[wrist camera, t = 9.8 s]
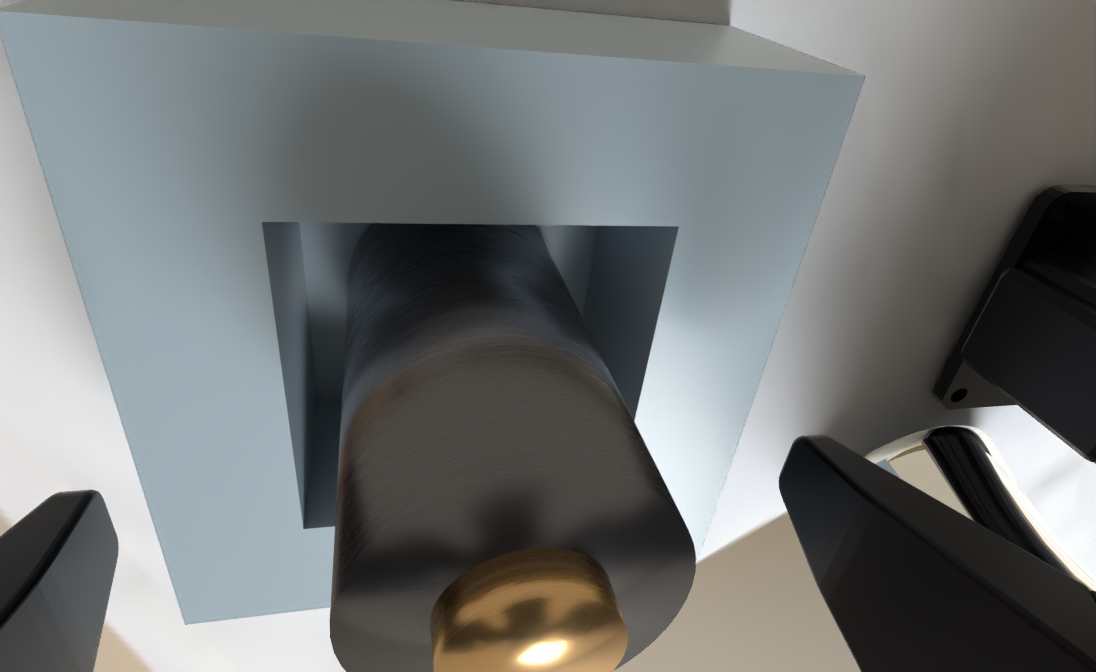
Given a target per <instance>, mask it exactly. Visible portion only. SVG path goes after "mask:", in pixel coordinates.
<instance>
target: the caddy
mask: <svg viewBox="0 0 1096 672" xmlns="http://www.w3.org/2000/svg"><path fill="white" fill-rule="evenodd" d="M0 36H1V39H2V42H3V46H4V49H5V52H6V55H7V58H8V61H9V65H10V68H11V71H12V74H13V77H14V81H15V84H16V87H17V90H18V93H19V97H20V100H21V103H22V106H23V109H24V113H25V116H26V119H27V122H28V125H29V128H30V132H31V135H32V138H33V141H34V144H35V148H36V151H37V154H38V157H39V160H40V164H41V167H42V170H43V173H44V176H45V180H46V183H47V186H48V189H49V192H50V195H51V199H52V202H53V205H54V208H55V211H56V215H57V218H58V221H59V224H60V227H61V231H62V234H63V237H64V240H65V243H66V246H67V250H68V253H69V256H70V259H71V262H72V266H73V269H74V272H75V275H76V278H77V282H78V285H79V288H80V291H81V294H82V298H83V301H84V304H85V307H86V310H87V313H88V317H89V320H90V323H91V326H92V329H93V333H94V336H95V339H96V342H97V345H98V349H99V352H100V355H101V358H102V361H103V365H104V368H105V371H106V374H107V377H108V380H109V384H110V387H111V390H112V393H113V396H114V400H115V403H116V406H117V409H118V412H119V416H120V419H121V422H122V425H123V428H124V432H125V435H126V438H127V441H128V444H129V447H130V451H131V454H132V457H133V460H134V463H135V467H136V470H137V473H138V476H139V479H140V483H141V486H142V489H143V492H144V495H145V499H146V502H147V505H148V508H149V511H150V514H151V518H152V521H153V524H154V527H155V530H156V534H157V537H158V540H159V543H160V546H161V550H162V553H163V556H164V559H165V562H166V565H167V569H168V572H169V575H170V578H171V581H172V585H173V588H174V591H175V594H176V597H177V601H178V604H179V607H180V610H181V613H182V617H183V620H184V623H185V625H187V624H195V623H203V622H212V621H220V620H228V619H237V618H245V617H253V616H261V615H270V614H278V613H286V612H295V611H303V610H311V609H320V608H328V607H331V592H332V573H333V555H334V536H335V518H336V499H337V481H338V463H339V444H340V426H341V407H342V389H343V370H344V352H345V333H346V315H347V297H348V278H349V269H350V263H351V259H352V256H353V253H354V250H355V248H356V246H357V244H358V242H359V239H360V238H361V236H362V235H363V233H364V232H365V230H366V229H367V228H368V226H369V225H370V224H371V223H414V224H502V225H535V227H536V228H537V230H538V231H539V233H540V235H541V236H542V238H543V240H544V242H545V244H546V246H547V248H548V250H549V252H550V254H551V256H552V258H553V260H554V262H555V264H556V266H557V268H558V270H559V272H560V274H561V276H562V278H563V280H564V282H565V284H566V286H567V288H568V290H569V292H570V294H571V296H572V298H573V300H574V302H575V304H576V306H577V308H578V310H579V312H580V314H581V316H582V318H583V320H584V322H585V324H586V326H587V328H588V330H589V332H590V334H591V336H592V338H593V340H594V342H595V344H596V346H597V348H598V350H599V352H600V354H601V356H602V358H603V360H604V362H605V364H606V366H607V368H608V370H609V372H610V374H611V376H612V378H613V380H614V382H615V384H616V386H617V388H618V390H619V392H620V394H621V396H622V398H623V400H624V402H625V404H626V406H627V408H628V410H629V412H630V414H631V416H632V418H633V420H634V422H635V424H636V426H637V428H638V430H639V432H640V434H641V436H642V438H643V440H644V442H645V444H646V446H647V448H648V450H649V452H650V454H651V456H652V458H653V460H654V462H655V464H656V466H657V468H658V470H659V472H660V474H661V476H662V478H663V480H664V482H665V484H666V486H667V488H668V490H669V492H670V494H671V496H672V498H673V500H674V502H675V504H676V506H677V508H678V510H679V512H680V514H681V516H682V518H683V520H684V522H685V524H686V526H687V528H688V530H689V532H690V535H691V537H692V540H693V542H694V547H695V554H696V563H697V560H698V557H699V555H700V552H701V549H702V546H703V543H704V540H705V537H706V534H707V532H708V529H709V526H710V523H711V520H712V517H713V514H714V511H715V508H716V506H717V503H718V500H719V497H720V494H721V491H722V488H723V485H724V483H725V480H726V477H727V474H728V471H729V468H730V465H731V462H732V459H733V457H734V454H735V451H736V448H737V445H738V442H739V439H740V436H741V434H742V431H743V428H744V425H745V422H746V419H747V416H748V413H749V411H750V408H751V405H752V402H753V399H754V396H755V393H756V390H757V387H758V385H759V382H760V379H761V376H762V373H763V370H764V367H765V364H766V362H767V359H768V356H769V353H770V350H771V347H772V344H773V341H774V338H775V336H776V333H777V330H778V327H779V324H780V321H781V318H782V315H783V313H784V310H785V307H786V304H787V301H788V298H789V295H790V292H791V289H792V287H793V284H794V281H795V278H796V275H797V272H798V269H799V266H800V264H801V261H802V258H803V255H804V252H805V249H806V246H807V243H808V240H809V238H810V235H811V232H812V229H813V226H814V223H815V220H816V217H817V215H818V212H819V209H820V206H821V203H822V200H823V197H824V194H825V191H826V189H827V186H828V183H829V180H830V177H831V174H832V171H833V168H834V166H835V163H836V160H837V157H838V154H839V151H840V148H841V145H842V142H843V140H844V137H845V134H846V131H847V128H848V125H849V122H850V119H851V117H852V114H853V111H854V108H855V105H856V102H857V99H858V96H859V94H860V91H861V88H862V85H863V82H864V79H865V76H864V75H861V74H858V73H856V72H853V71H850V70H848V69H845V68H842V67H840V66H837V65H834V64H832V63H829V62H826V61H824V60H821V59H818V58H816V57H813V56H810V55H808V54H805V53H802V52H800V51H797V50H794V49H792V48H789V47H786V46H784V45H781V44H778V43H776V42H773V41H770V40H768V39H765V38H762V37H760V36H757V35H754V34H752V33H749V32H746V31H744V30H741V29H738V28H736V27H733V26H727V25H716V24H705V23H694V22H683V21H672V20H661V19H650V18H639V17H628V16H617V15H606V14H595V13H584V12H573V11H562V10H551V9H541V8H530V7H519V6H508V5H497V4H486V3H475V2H464V1H453V0H25V1H22V2H18V3H15V4H12V5H9V6H6V7H2V8H0Z"/></svg>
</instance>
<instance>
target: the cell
mask: <svg viewBox="0 0 1096 672" xmlns="http://www.w3.org/2000/svg"><path fill="white" fill-rule="evenodd" d="M695 568H696V554H695V547H694V542H693V540H692V537H691V535H690V532H689V530H688V528H687V526H686V524H685V522H684V520H683V518H682V516H681V514H680V512H679V510H678V508H677V506H676V504H675V502H674V500H673V498H672V496H671V494H670V492H669V490H668V488H667V486H666V484H665V482H664V480H663V478H662V476H661V474H660V472H659V470H658V468H657V466H656V464H655V462H654V460H653V458H652V456H651V454H650V452H649V450H648V448H647V446H646V444H645V442H644V440H643V438H642V436H641V434H640V432H639V430H638V428H637V426H636V424H635V422H634V420H633V418H632V416H631V414H630V412H629V410H628V408H627V406H626V404H625V402H624V400H623V398H622V396H621V394H620V392H619V390H618V388H617V386H616V384H615V382H614V380H613V378H612V376H611V374H610V372H609V370H608V368H607V366H606V364H605V362H604V360H603V358H602V356H601V354H600V352H599V350H598V348H597V346H596V344H595V342H594V340H593V338H592V336H591V334H590V332H589V330H588V328H587V326H586V324H585V322H584V320H583V318H582V316H581V314H580V312H579V310H578V308H577V306H576V304H575V302H574V300H573V298H572V296H571V294H570V292H569V290H568V288H567V286H566V284H565V282H564V280H563V278H562V276H561V274H560V272H559V270H558V268H557V266H556V264H555V262H554V260H553V258H552V256H551V254H550V252H549V250H548V248H547V246H546V244H545V242H544V240H543V238H542V236H541V235H540V233H539V231H538V230H537V228H536V227H535V225H502V224H414V223H371V224H370V225H369V226H368V228H367V229H366V230H365V232H364V233H363V235H362V236H361V238H360V239H359V242H358V244H357V246H356V248H355V250H354V253H353V256H352V259H351V263H350V269H349V278H348V297H347V315H346V333H345V352H344V370H343V389H342V407H341V426H340V444H339V463H338V481H337V499H336V518H335V536H334V555H333V573H332V592H331V610H330V638H331V642H332V646H333V650H334V653H335V655H336V657H337V659H338V661H339V662H340V664H341V666H342V667H343V668H344V669H345V671H346V672H612V671H614V670H615V669H617V668H619V667H620V666H622V665H623V664H625V663H627V662H628V661H629V660H631V659H632V658H634V657H635V656H636V655H638V654H639V653H641V651H643V650H644V649H645V648H646V647H648V646H649V645H650V644H651V643H652V642H653V641H655V640H656V638H657V637H658V636H659V635H660V634H661V633H662V632H663V631H664V630H665V629H666V628H667V627H668V626H669V624H670V623H671V622H672V621H673V619H674V618H675V617H676V615H677V614H678V613H679V611H680V609H681V608H682V606H683V604H684V602H685V601H686V599H687V596H688V594H689V592H690V589H691V587H692V584H693V580H694V575H695Z"/></svg>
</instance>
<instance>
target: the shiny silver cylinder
mask: <svg viewBox="0 0 1096 672" xmlns="http://www.w3.org/2000/svg"><path fill="white" fill-rule="evenodd" d="M863 457H864V458H866V459H868V460H869V461H871V462H873V463H875V464H876V465H878V466H880V467H882V468H883V469H885V470H887V471H888V472H890V473H892V474H894V475H895V476H897V477H899V478H901V479H902V480H904V481H906V482H907V483H909V484H911V485H913V486H914V487H916V488H918V489H920V490H921V491H923V492H925V493H926V494H928V495H930V496H932V497H933V498H935V499H937V500H939V501H940V502H942V503H944V504H945V505H947V506H949V507H951V508H952V509H954V510H956V511H958V512H959V513H961V514H963V515H964V516H966V517H968V518H970V519H971V520H973V521H975V522H977V523H978V524H980V525H982V526H983V527H985V528H987V529H989V530H990V531H992V532H994V533H996V534H997V535H999V536H1001V537H1002V538H1004V539H1006V540H1008V541H1009V542H1011V543H1013V544H1015V545H1016V546H1018V547H1020V548H1021V549H1023V550H1025V551H1027V552H1028V553H1030V554H1032V555H1034V556H1035V557H1037V558H1039V559H1040V560H1042V561H1044V562H1046V563H1047V564H1049V565H1051V566H1053V567H1054V568H1056V569H1058V570H1059V571H1061V572H1063V573H1065V574H1066V575H1068V576H1070V577H1072V578H1073V579H1075V580H1077V581H1078V582H1080V583H1082V584H1084V585H1085V586H1087V588H1088V589H1089V591H1090V590H1094V591H1096V576H1095V575H1094V574H1093V573H1092V572H1091V571H1090V570H1089V569H1088V568H1087V567H1086V566H1085V565H1084V564H1083V563H1082V562H1081V561H1080V560H1079V559H1078V558H1077V557H1076V556H1075V555H1074V554H1073V553H1072V552H1071V551H1070V550H1069V549H1068V548H1067V547H1066V546H1065V545H1064V544H1063V543H1062V541H1061V540H1060V539H1059V538H1058V537H1057V536H1056V534H1055V533H1054V532H1053V531H1052V530H1051V529H1050V527H1049V526H1048V525H1047V524H1046V523H1045V521H1044V520H1043V519H1042V517H1041V516H1040V515H1039V513H1038V512H1037V510H1036V509H1035V508H1034V506H1033V505H1032V503H1031V502H1030V501H1029V499H1028V497H1027V496H1026V494H1025V493H1024V491H1023V489H1022V488H1021V486H1020V485H1019V483H1018V481H1017V480H1016V478H1015V476H1014V475H1013V473H1012V472H1011V470H1010V468H1009V467H1008V465H1007V463H1006V462H1005V460H1004V458H1003V457H1002V455H1001V453H1000V452H999V450H998V449H997V447H996V446H995V444H994V443H993V441H992V440H991V439H990V437H989V436H988V435H986V434H985V433H984V432H983V431H981V430H980V429H978V428H975V427H971V426H965V425H947V426H939V427H934V428H930V429H926V430H922V431H919V432H915V433H912V434H909V435H907V436H904V437H902V438H899V439H897V440H894V441H892V442H890V443H888V444H886V445H884V446H881V447H879V448H878V449H876V450H874V451H872V452H870V453H868V454H867V455H865V456H863Z"/></svg>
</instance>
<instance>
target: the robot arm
mask: <svg viewBox="0 0 1096 672" xmlns="http://www.w3.org/2000/svg"><path fill="white" fill-rule="evenodd" d="M933 397H934V398H935V399H936V400H937V401H938V402H940V403H941V404H942V405H943V406H944V407H945V408H946V409H961V408H976V407H991V406H1006V405H1018V406H1020V407H1021V408H1022V409H1023V410H1025V411H1026V412H1027V413H1028V414H1030V415H1031V416H1032V417H1033V418H1035V419H1036V420H1037V421H1038V422H1040V423H1041V424H1042V425H1043V426H1045V427H1046V428H1047V429H1048V430H1050V431H1051V432H1052V433H1053V434H1055V435H1056V436H1057V437H1058V438H1060V439H1061V440H1062V441H1063V442H1065V443H1066V444H1067V445H1069V446H1070V447H1071V448H1072V449H1074V450H1075V451H1076V452H1077V453H1079V454H1080V455H1081V456H1082V457H1084V458H1085V459H1087V460H1089V461H1091V462H1094V463H1095V464H1096V187H1088V186H1053V187H1050V188H1048V189H1046V190H1044V191H1043V192H1041V193H1040V194H1039V195H1038V196H1037V197H1036V198H1035V200H1034V201H1033V202H1032V204H1031V205H1030V207H1029V209H1028V211H1027V213H1026V215H1025V217H1024V219H1023V221H1022V222H1021V224H1020V226H1019V228H1018V230H1017V232H1016V234H1015V236H1014V238H1013V239H1012V241H1011V243H1010V245H1009V247H1008V249H1007V251H1006V253H1005V255H1004V257H1003V258H1002V260H1001V262H1000V264H999V266H998V268H997V270H996V272H995V274H994V275H993V277H992V279H991V281H990V283H989V285H988V287H987V289H986V291H985V293H984V294H983V296H982V298H981V300H980V302H979V304H978V306H977V308H976V310H975V311H974V313H973V315H972V317H971V319H970V321H969V323H968V325H967V327H966V329H965V330H964V332H963V334H962V336H961V338H960V340H959V342H958V344H957V346H956V347H955V349H954V351H953V353H952V355H951V357H950V359H949V361H948V363H947V365H946V366H945V368H944V370H943V372H942V374H941V376H940V378H939V380H938V382H937V384H936V385H935V387H934V390H933ZM779 489H780V493H781V496H782V498H783V501H784V503H785V506H786V509H787V511H788V514H789V516H790V519H791V521H792V524H793V526H794V529H795V531H796V534H797V536H798V539H799V541H800V544H801V546H802V549H803V552H804V554H805V557H806V559H807V562H808V564H809V567H810V569H811V572H812V573H813V576H814V579H815V581H816V583H817V586H818V588H819V590H820V592H821V594H822V596H823V598H824V600H825V602H826V604H827V606H828V608H829V610H830V612H831V614H832V616H833V618H834V620H835V622H836V624H837V626H838V628H839V629H840V631H841V634H842V636H843V637H844V639H845V641H846V643H847V645H848V647H849V649H850V651H851V653H852V655H853V657H854V659H855V661H856V663H857V665H858V667H859V669H860V671H861V672H1096V591H1094V590H1090V591H1089V589H1088V588H1087V586H1085V585H1084V584H1082V583H1080V582H1078V581H1077V580H1075V579H1073V578H1072V577H1070V576H1068V575H1066V574H1065V573H1063V572H1061V571H1059V570H1058V569H1056V568H1054V567H1053V566H1051V565H1049V564H1047V563H1046V562H1044V561H1042V560H1040V559H1039V558H1037V557H1035V556H1034V555H1032V554H1030V553H1028V552H1027V551H1025V550H1023V549H1021V548H1020V547H1018V546H1016V545H1015V544H1013V543H1011V542H1009V541H1008V540H1006V539H1004V538H1002V537H1001V536H999V535H997V534H996V533H994V532H992V531H990V530H989V529H987V528H985V527H983V526H982V525H980V524H978V523H977V522H975V521H973V520H971V519H970V518H968V517H966V516H964V515H963V514H961V513H959V512H958V511H956V510H954V509H952V508H951V507H949V506H947V505H945V504H944V503H942V502H940V501H939V500H937V499H935V498H933V497H932V496H930V495H928V494H926V493H925V492H923V491H921V490H920V489H918V488H916V487H914V486H913V485H911V484H909V483H907V482H906V481H904V480H902V479H901V478H899V477H897V476H895V475H894V474H892V473H890V472H888V471H887V470H885V469H883V468H882V467H880V466H878V465H876V464H875V463H873V462H871V461H869V460H868V459H866V458H864V457H863V456H861V455H859V454H857V453H856V452H854V451H852V450H851V449H849V448H847V447H845V446H844V445H842V444H840V443H838V442H837V441H835V440H833V439H832V438H830V437H828V436H825V435H809V436H800V437H798V438H797V439H796V440H795V441H794V442H793V444H792V446H791V449H790V451H789V453H788V456H787V458H786V461H785V463H784V466H783V468H782V471H781V473H780V476H779ZM117 558H118V538H117V535H116V532H115V529H114V526H113V524H112V521H111V518H110V515H109V513H108V510H107V507H106V504H105V502H104V499H103V497H102V495H101V494H100V493H99V492H98V491H95V490H80V491H67V492H59V493H56V494H54V495H52V496H50V497H49V498H47V499H46V500H45V501H44V502H42V503H41V504H40V505H39V506H38V507H36V508H35V509H34V510H33V511H31V512H30V513H29V514H28V515H26V516H25V517H24V518H23V519H21V520H20V521H19V522H18V523H16V524H15V525H14V526H13V527H11V528H10V529H9V530H8V531H6V533H4V534H3V535H2V536H0V672H93V670H94V666H95V661H96V656H97V652H98V647H99V643H100V638H101V633H102V628H103V624H104V619H105V614H106V610H107V605H108V600H109V596H110V591H111V586H112V582H113V577H114V572H115V568H116V563H117Z"/></svg>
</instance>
